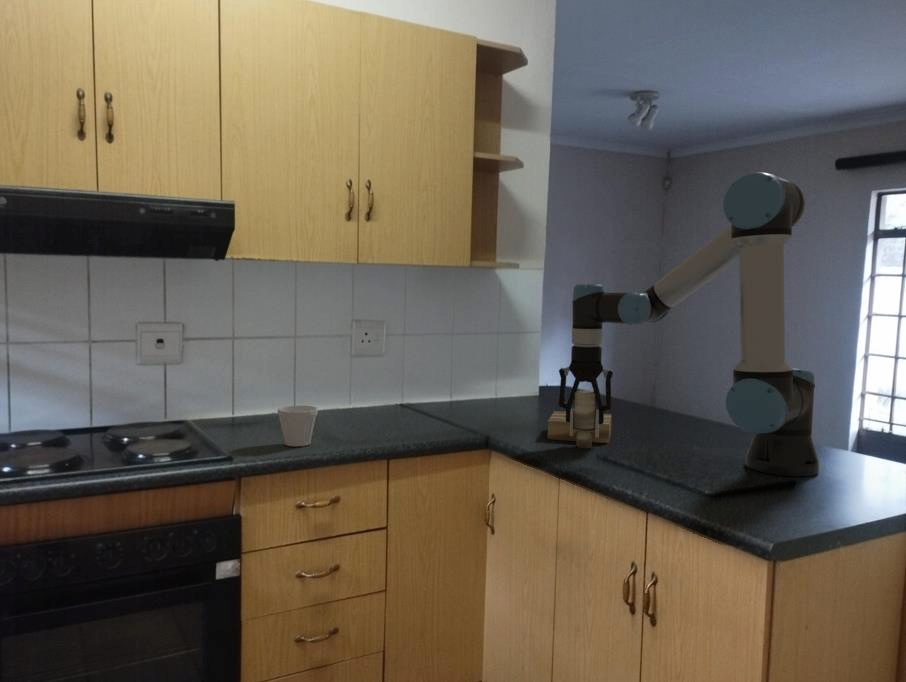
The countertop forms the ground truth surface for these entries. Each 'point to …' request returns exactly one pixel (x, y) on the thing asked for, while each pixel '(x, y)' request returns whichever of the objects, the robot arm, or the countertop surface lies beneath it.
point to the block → (561, 430)
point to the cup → (297, 424)
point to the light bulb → (584, 417)
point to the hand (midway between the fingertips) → (584, 435)
